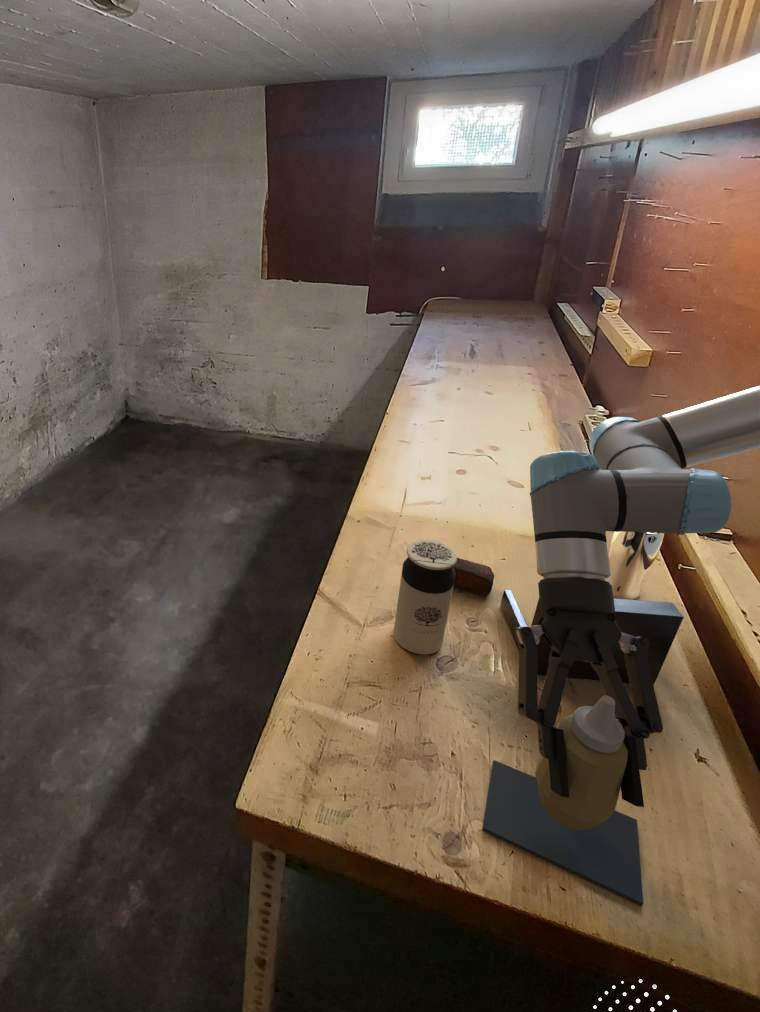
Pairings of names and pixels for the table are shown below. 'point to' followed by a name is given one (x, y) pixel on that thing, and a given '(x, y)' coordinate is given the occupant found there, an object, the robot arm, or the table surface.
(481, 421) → the table surface
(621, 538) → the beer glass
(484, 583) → the brick
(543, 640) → the black angular stand
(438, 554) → the travel mug
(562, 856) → the mat
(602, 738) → the squeeze bottle
